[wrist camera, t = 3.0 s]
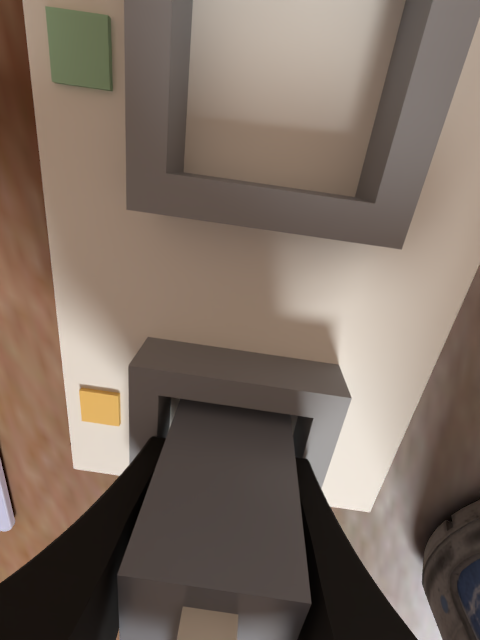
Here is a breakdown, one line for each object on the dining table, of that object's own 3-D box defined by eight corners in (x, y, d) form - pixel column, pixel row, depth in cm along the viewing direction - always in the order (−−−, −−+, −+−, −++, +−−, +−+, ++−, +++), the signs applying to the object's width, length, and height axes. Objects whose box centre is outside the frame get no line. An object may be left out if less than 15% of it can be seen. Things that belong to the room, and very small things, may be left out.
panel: (82, 455, 16) (49, 508, 14) (25, -152, 8) (-84, -299, 6) (365, 496, 16) (383, 557, 14) (604, -70, 8) (761, -180, 5)
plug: (181, 452, 15) (107, 713, 8) (187, 378, 13) (99, 623, 6) (270, 466, 15) (278, 738, 8) (288, 393, 13) (317, 655, 6)
